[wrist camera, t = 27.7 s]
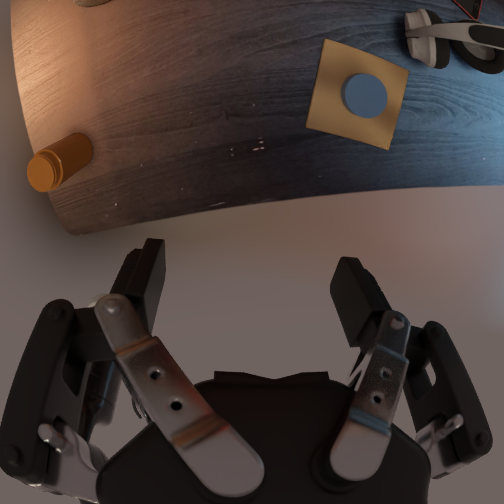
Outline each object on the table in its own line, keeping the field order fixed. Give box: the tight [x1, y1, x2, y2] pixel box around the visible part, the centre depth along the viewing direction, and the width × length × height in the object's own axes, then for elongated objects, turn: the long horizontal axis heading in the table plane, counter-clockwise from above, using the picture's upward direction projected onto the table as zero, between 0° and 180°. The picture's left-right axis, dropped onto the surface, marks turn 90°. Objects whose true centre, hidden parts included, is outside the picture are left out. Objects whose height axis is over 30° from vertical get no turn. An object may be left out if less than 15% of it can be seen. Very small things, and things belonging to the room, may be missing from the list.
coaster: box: [305, 39, 409, 150], centre depth 29 cm, size 12×12×1 cm
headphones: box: [405, 9, 504, 74], centre depth 15 cm, size 19×8×20 cm, turn 106°
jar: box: [27, 133, 93, 192], centre depth 28 cm, size 5×5×9 cm
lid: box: [341, 73, 387, 118], centre depth 28 cm, size 6×6×2 cm
